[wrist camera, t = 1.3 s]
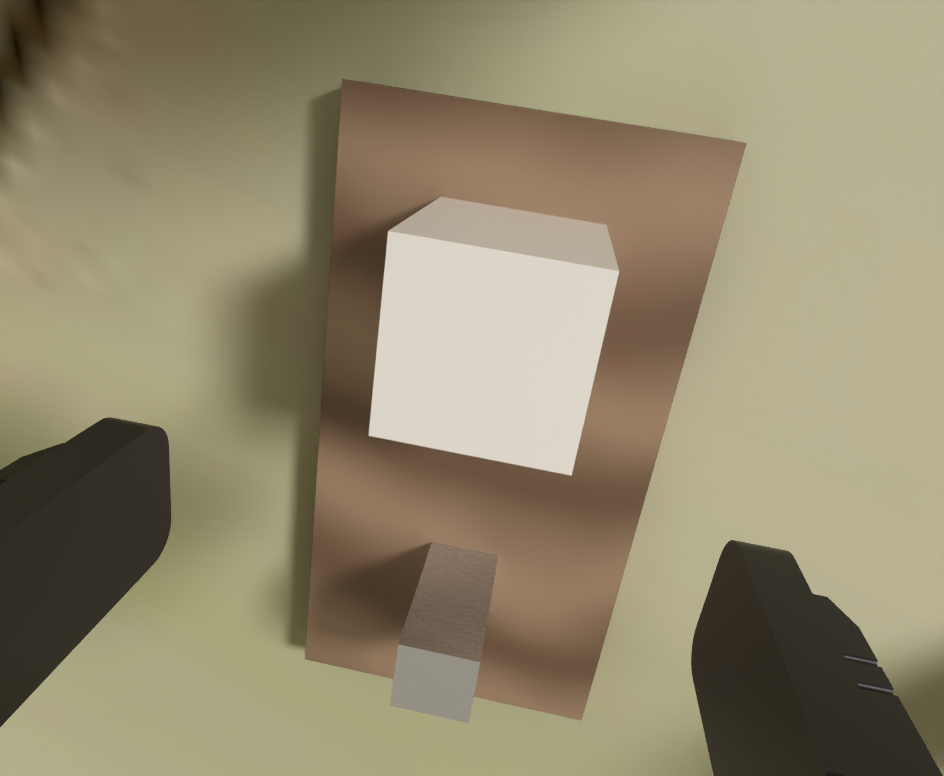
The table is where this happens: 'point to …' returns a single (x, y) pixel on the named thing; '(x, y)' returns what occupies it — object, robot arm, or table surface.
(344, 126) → the board
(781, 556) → the robot arm
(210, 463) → the table surface
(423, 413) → the white rectangular block
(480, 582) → the post
